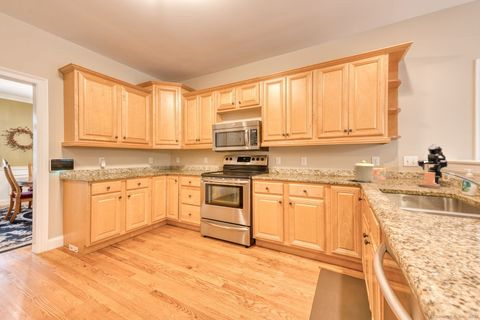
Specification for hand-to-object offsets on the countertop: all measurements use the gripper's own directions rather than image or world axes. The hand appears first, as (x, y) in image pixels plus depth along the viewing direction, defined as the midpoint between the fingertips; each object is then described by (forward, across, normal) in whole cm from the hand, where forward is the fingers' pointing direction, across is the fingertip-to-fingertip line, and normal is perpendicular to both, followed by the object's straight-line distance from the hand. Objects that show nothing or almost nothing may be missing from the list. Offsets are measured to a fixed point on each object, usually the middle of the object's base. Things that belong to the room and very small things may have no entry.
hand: (430, 170), depth 178 cm
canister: (+19, -48, 0) cm, 52 cm away
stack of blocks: (0, -48, +19) cm, 51 cm away
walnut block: (+17, +1, +3) cm, 17 cm away
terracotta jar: (+15, +1, +1) cm, 15 cm away
